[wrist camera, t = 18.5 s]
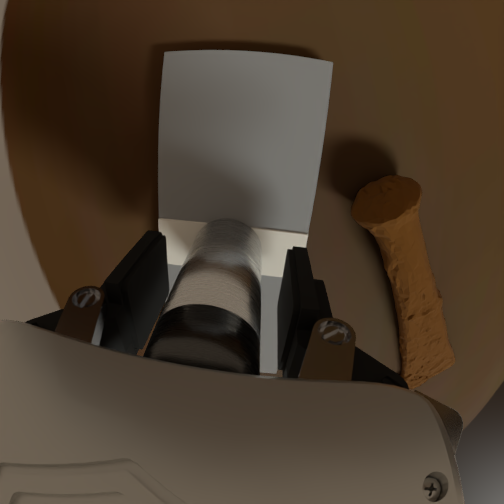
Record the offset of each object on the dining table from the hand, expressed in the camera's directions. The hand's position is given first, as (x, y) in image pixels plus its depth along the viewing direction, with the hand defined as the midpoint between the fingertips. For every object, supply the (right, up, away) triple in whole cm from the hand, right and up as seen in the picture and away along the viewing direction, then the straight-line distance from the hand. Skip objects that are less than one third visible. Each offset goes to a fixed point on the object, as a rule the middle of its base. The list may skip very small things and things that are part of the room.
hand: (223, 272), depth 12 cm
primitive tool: (+12, -3, +5) cm, 14 cm away
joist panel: (0, +1, +3) cm, 3 cm away
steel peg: (0, +1, +2) cm, 2 cm away
